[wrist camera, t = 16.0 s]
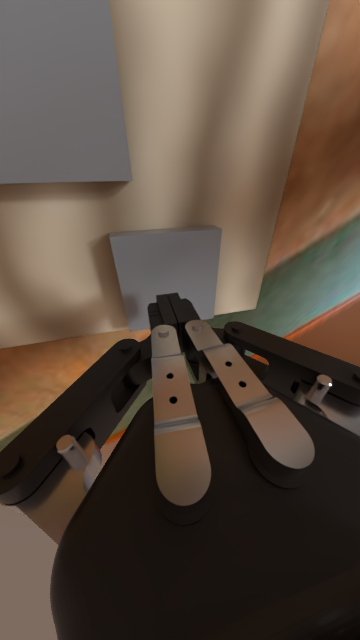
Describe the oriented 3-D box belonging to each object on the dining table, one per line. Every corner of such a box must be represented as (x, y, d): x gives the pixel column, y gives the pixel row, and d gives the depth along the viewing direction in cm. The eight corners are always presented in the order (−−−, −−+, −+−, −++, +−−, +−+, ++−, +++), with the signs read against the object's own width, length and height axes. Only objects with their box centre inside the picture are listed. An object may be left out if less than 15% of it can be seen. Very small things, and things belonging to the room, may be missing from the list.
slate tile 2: (222, 228, 14) (109, 237, 13) (213, 318, 19) (129, 331, 17) (212, 224, 16) (110, 231, 14) (207, 308, 20) (129, 320, 19)
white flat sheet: (310, 12, 12) (331, -8, 10) (248, 302, 23) (255, 308, 22) (-309, -85, 7) (-398, -140, 6) (1, 339, 19) (-8, 349, 17)
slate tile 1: (95, -100, 7) (-207, -168, 5) (132, 180, 11) (-25, 184, 10) (100, -50, 8) (-137, -93, 7) (131, 180, 13) (-7, 184, 11)
